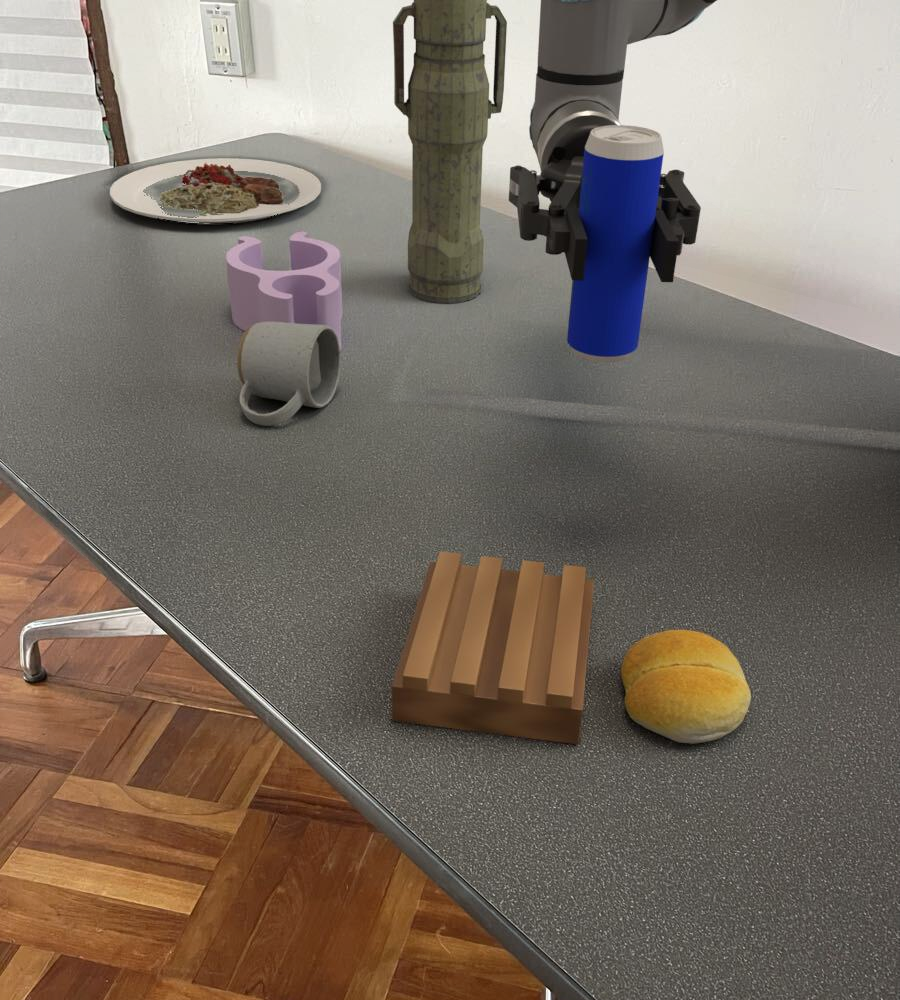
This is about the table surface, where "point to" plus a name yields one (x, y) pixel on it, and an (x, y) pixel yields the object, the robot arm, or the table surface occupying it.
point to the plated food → (215, 190)
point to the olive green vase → (447, 140)
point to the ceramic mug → (288, 367)
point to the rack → (497, 650)
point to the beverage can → (615, 240)
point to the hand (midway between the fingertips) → (624, 260)
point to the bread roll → (684, 686)
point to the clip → (286, 284)
